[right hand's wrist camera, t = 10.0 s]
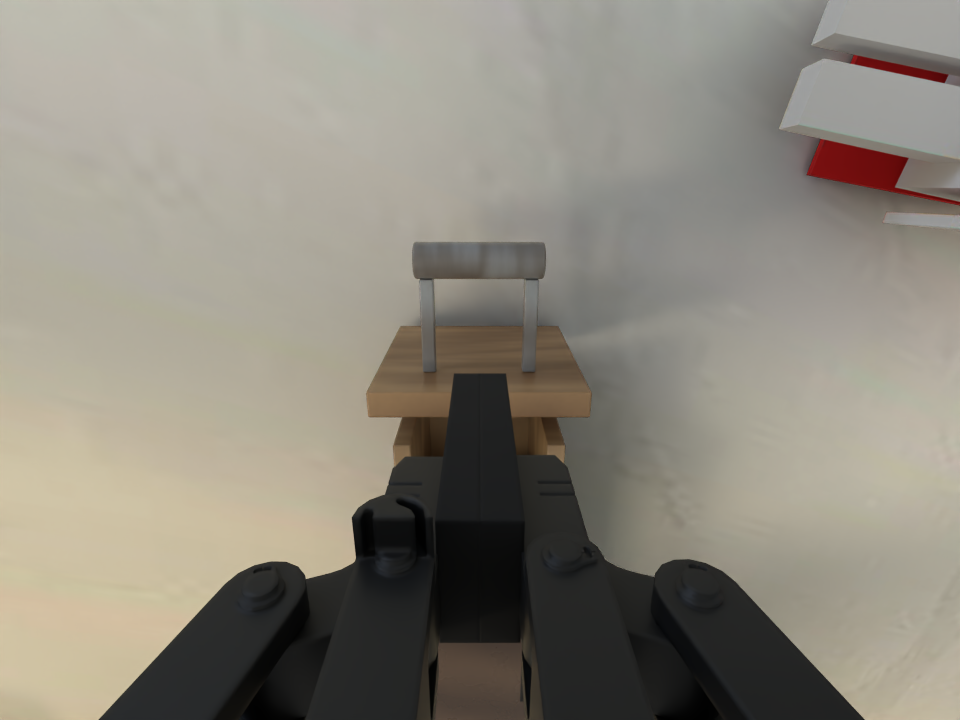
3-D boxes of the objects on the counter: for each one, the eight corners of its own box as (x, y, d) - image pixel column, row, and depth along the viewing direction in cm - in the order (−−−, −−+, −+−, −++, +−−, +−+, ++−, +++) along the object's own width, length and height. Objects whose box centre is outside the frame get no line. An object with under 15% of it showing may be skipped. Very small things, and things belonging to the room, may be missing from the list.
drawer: (394, 225, 29) (353, 250, 19) (564, 225, 29) (604, 251, 19) (411, 529, 36) (387, 653, 27) (547, 529, 36) (570, 653, 27)
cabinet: (400, 444, 35) (362, 573, 24) (558, 444, 35) (595, 573, 24) (411, 625, 40) (385, 797, 29) (547, 625, 40) (572, 798, 29)
